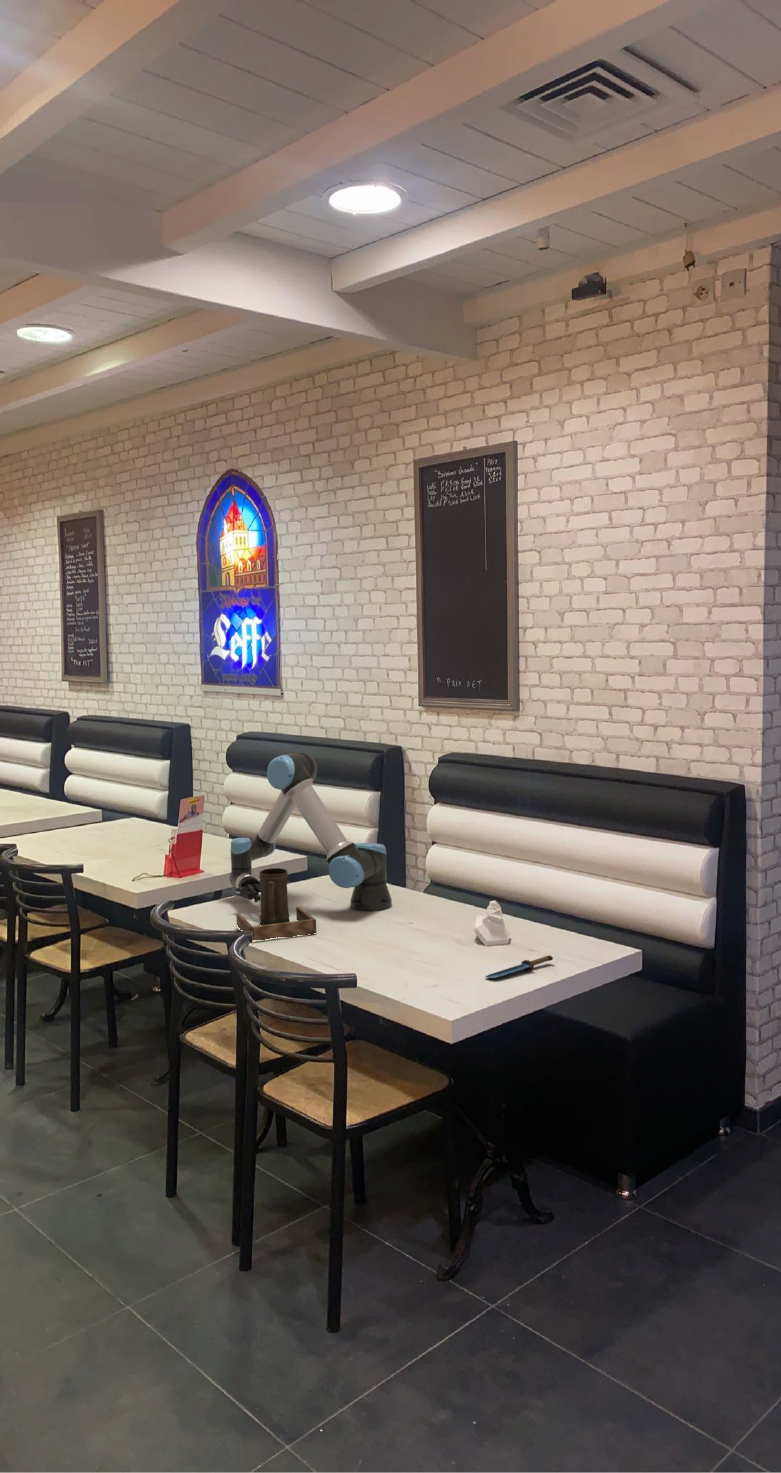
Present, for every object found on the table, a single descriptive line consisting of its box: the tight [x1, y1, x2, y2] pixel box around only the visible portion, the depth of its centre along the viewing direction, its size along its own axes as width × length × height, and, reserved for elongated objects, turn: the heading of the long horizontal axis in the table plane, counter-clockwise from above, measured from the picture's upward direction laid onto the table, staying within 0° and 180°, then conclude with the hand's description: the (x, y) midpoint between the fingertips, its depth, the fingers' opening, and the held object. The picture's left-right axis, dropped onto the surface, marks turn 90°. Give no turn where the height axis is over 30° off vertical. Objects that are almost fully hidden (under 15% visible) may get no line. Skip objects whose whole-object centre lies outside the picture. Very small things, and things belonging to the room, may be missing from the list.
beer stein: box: [258, 867, 291, 926], centre depth 351 cm, size 15×10×20 cm
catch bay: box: [235, 906, 317, 940], centre depth 347 cm, size 22×18×5 cm
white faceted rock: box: [473, 900, 511, 947], centre depth 333 cm, size 12×15×14 cm
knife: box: [485, 955, 554, 979], centre depth 301 cm, size 24×3×5 cm
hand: (264, 900), depth 357 cm, fingers closed
